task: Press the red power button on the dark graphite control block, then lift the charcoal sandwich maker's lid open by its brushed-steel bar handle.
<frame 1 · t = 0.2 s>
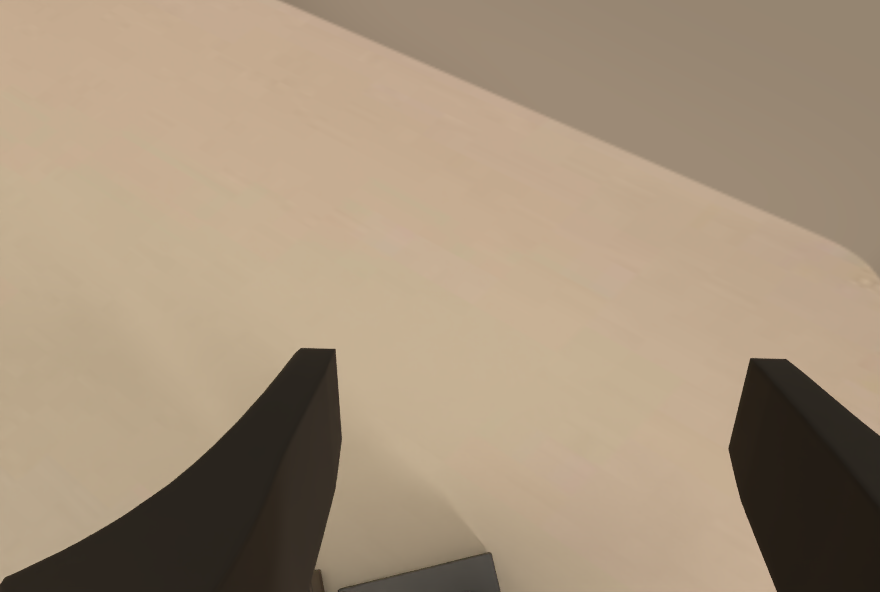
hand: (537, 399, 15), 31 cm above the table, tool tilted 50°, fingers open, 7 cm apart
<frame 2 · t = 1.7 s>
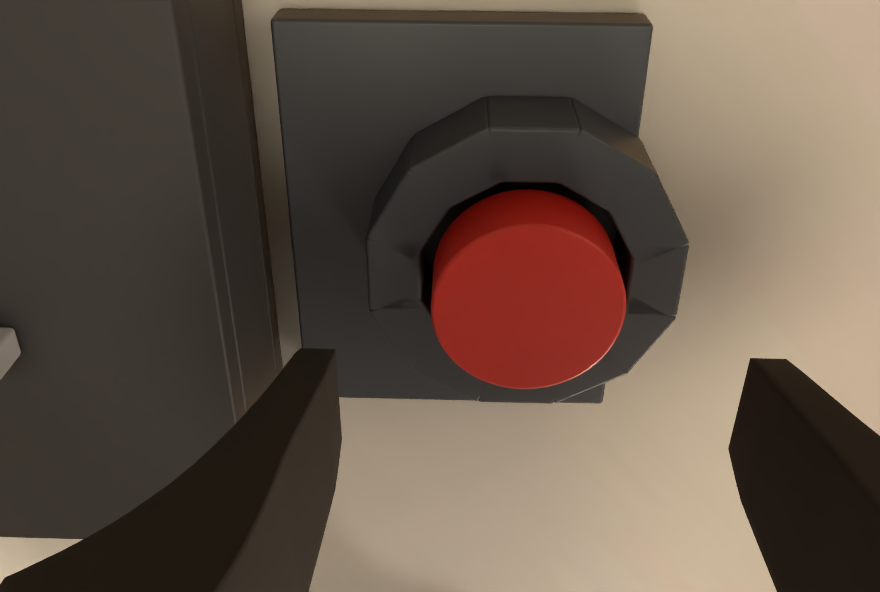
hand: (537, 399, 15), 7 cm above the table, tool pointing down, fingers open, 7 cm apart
power button: (525, 290, 18), point 3 cm above the table, slide at 0.1 cm
power block: (457, 217, 21), on the table
sandwich maker: (1, 209, 21), on the table
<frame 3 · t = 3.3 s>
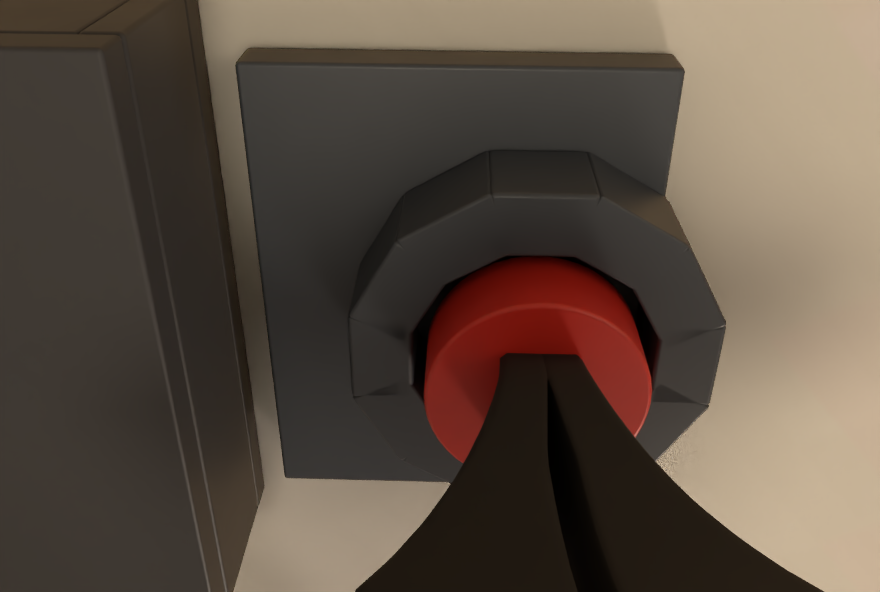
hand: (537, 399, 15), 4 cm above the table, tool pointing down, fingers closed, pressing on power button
power button: (534, 372, 16), point 3 cm above the table, slide at -0.1 cm, touching gripper
power block: (455, 281, 18), on the table
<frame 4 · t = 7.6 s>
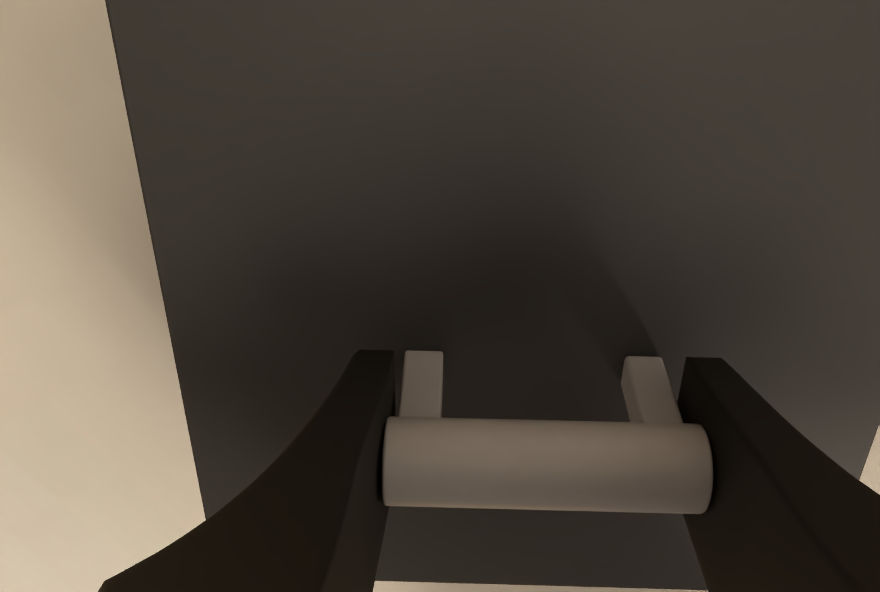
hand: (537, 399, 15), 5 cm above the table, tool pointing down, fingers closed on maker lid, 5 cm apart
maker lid: (538, 387, 14), point 6 cm above the table, hinge at 0.0°, touching gripper
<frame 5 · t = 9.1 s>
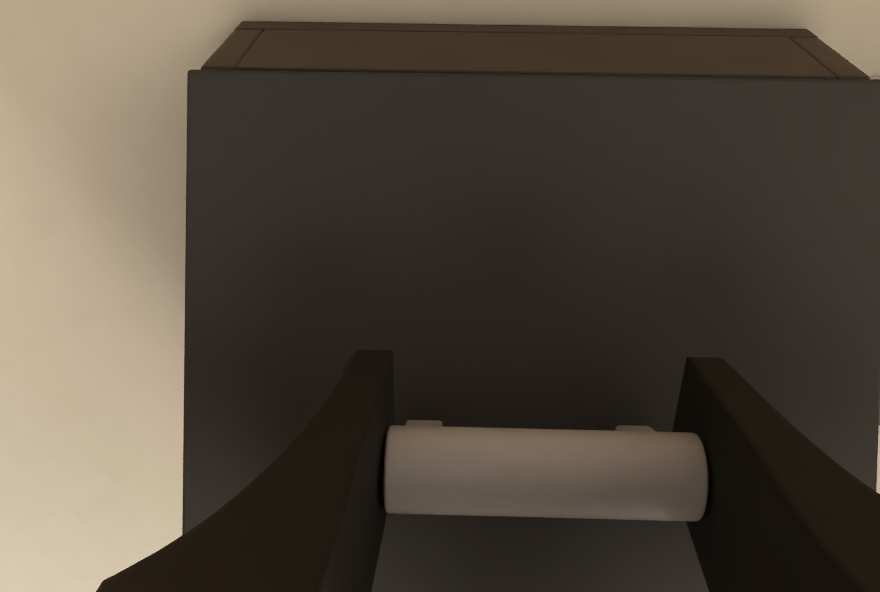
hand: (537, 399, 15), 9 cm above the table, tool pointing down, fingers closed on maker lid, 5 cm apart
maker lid: (534, 426, 15), point 9 cm above the table, hinge at 30.1°, touching gripper
sandwich maker: (509, 254, 23), on the table
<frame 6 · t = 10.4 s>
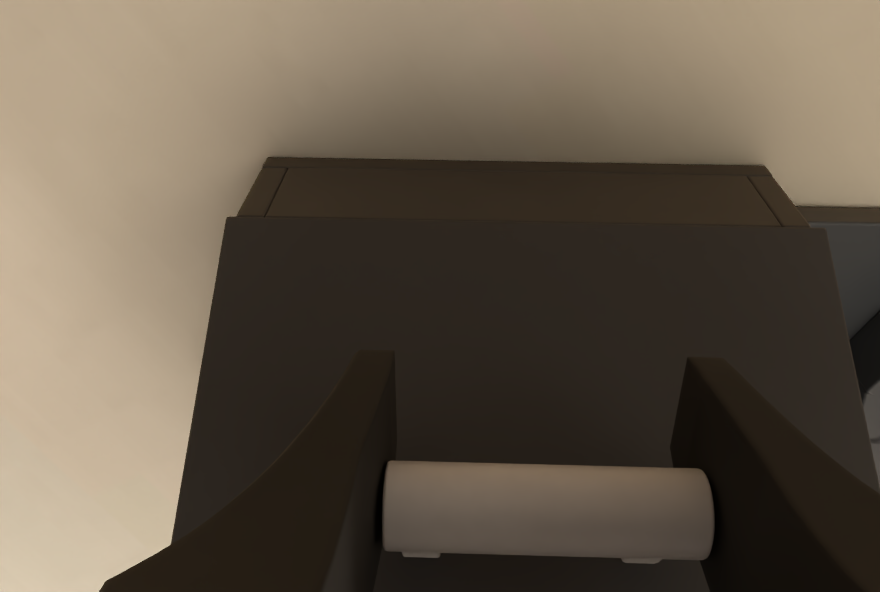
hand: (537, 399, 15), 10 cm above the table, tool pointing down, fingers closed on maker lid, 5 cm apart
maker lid: (535, 498, 15), point 11 cm above the table, hinge at 58.1°, touching gripper
sandwich maker: (504, 350, 26), on the table
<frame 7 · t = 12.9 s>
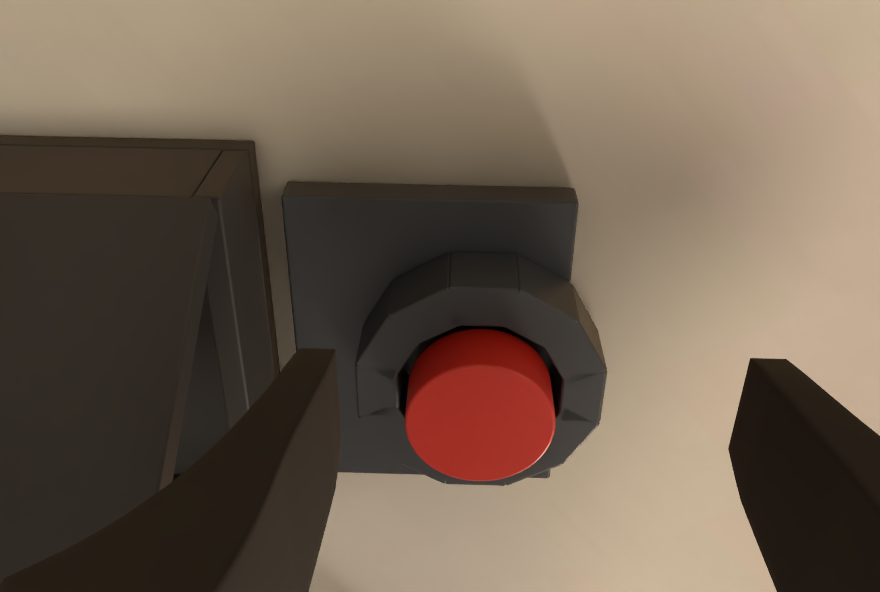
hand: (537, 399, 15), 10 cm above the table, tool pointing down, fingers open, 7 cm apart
power button: (479, 405, 23), point 3 cm above the table, slide at 0.1 cm
power block: (430, 333, 26), on the table
sandwich maker: (61, 324, 26), on the table
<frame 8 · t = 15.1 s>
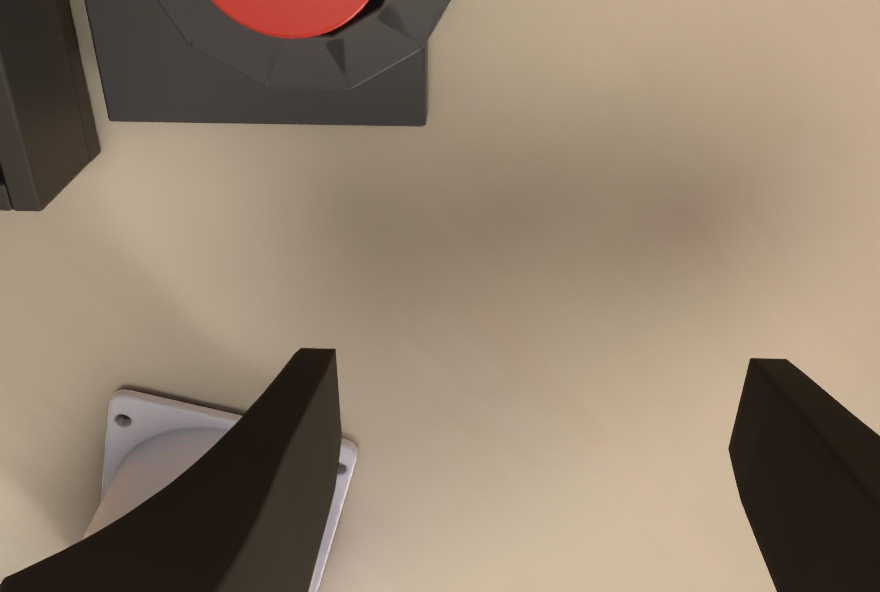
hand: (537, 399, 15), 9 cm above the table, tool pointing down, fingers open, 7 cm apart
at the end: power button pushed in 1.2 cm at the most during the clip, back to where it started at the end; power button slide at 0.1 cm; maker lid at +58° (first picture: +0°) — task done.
